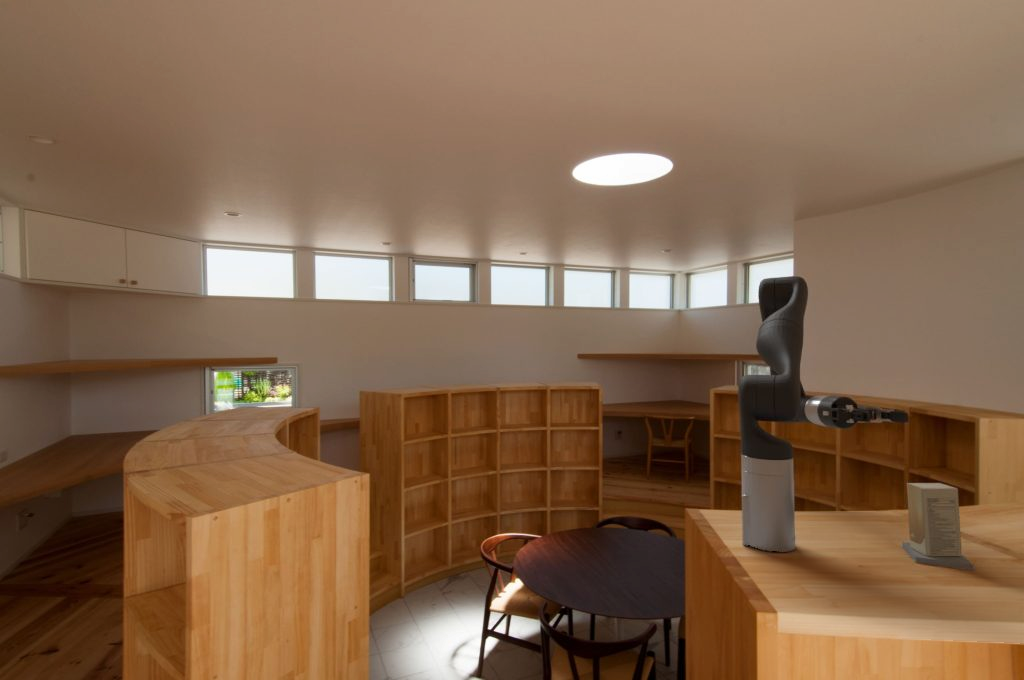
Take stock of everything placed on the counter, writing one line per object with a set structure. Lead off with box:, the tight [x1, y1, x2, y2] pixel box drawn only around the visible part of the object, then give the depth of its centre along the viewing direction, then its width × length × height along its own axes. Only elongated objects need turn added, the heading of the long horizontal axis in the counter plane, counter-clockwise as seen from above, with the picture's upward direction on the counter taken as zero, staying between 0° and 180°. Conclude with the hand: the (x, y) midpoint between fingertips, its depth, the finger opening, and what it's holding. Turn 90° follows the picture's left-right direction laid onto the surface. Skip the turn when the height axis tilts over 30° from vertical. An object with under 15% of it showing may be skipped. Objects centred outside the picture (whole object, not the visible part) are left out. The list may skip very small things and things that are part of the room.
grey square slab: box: [901, 541, 975, 571], centre depth 90 cm, size 8×8×1 cm
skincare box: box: [906, 482, 963, 556], centre depth 91 cm, size 6×4×12 cm
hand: (888, 417), depth 103 cm, fingers open, 8 cm apart
